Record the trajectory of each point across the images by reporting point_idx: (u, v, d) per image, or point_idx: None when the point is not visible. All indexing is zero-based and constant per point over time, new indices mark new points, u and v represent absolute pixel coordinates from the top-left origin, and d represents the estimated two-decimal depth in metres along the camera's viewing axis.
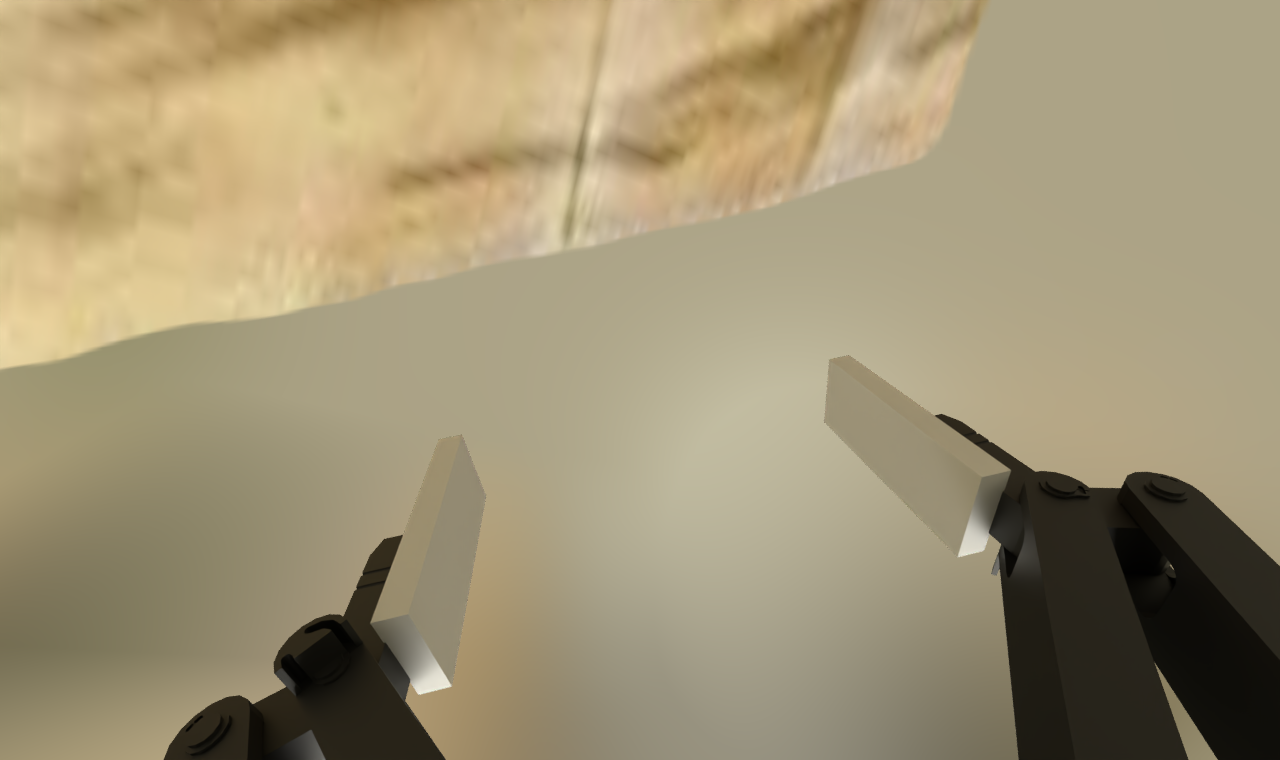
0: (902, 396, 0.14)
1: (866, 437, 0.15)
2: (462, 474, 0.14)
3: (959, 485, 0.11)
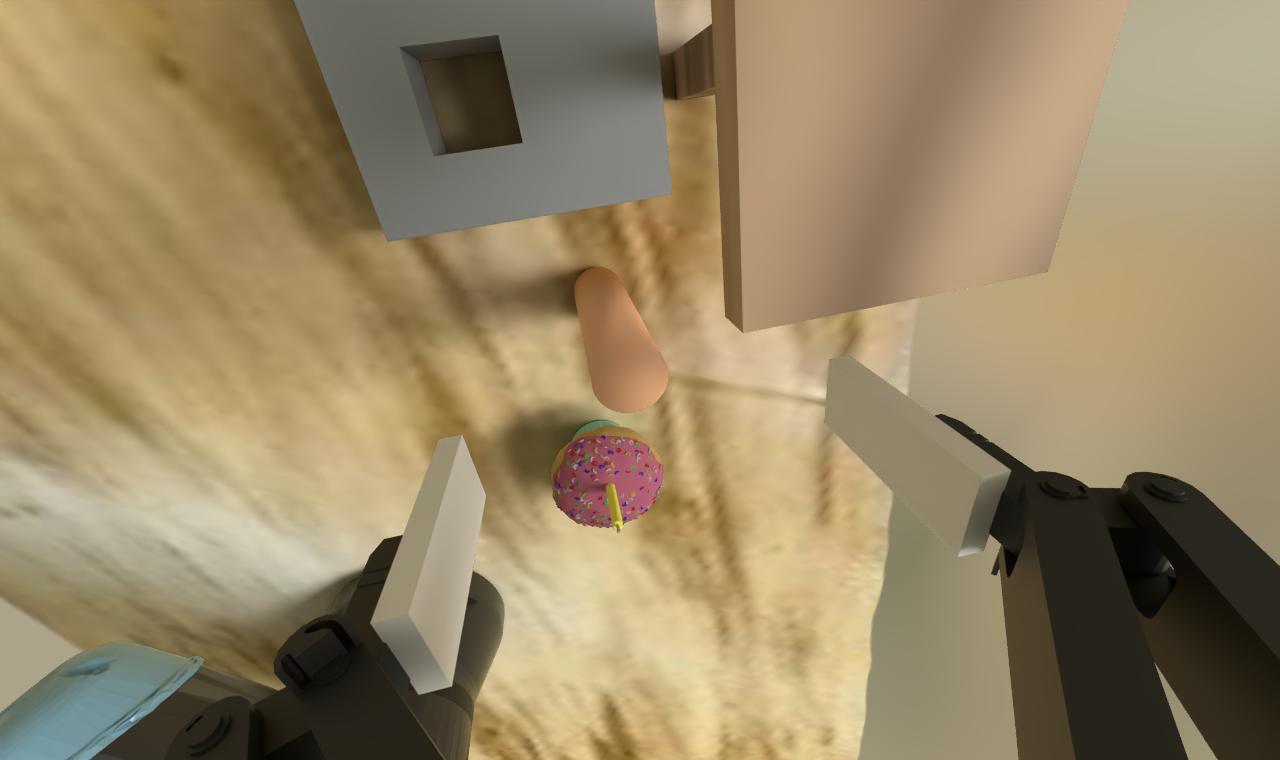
0: (902, 396, 0.14)
1: (866, 437, 0.15)
2: (462, 474, 0.14)
3: (959, 485, 0.11)
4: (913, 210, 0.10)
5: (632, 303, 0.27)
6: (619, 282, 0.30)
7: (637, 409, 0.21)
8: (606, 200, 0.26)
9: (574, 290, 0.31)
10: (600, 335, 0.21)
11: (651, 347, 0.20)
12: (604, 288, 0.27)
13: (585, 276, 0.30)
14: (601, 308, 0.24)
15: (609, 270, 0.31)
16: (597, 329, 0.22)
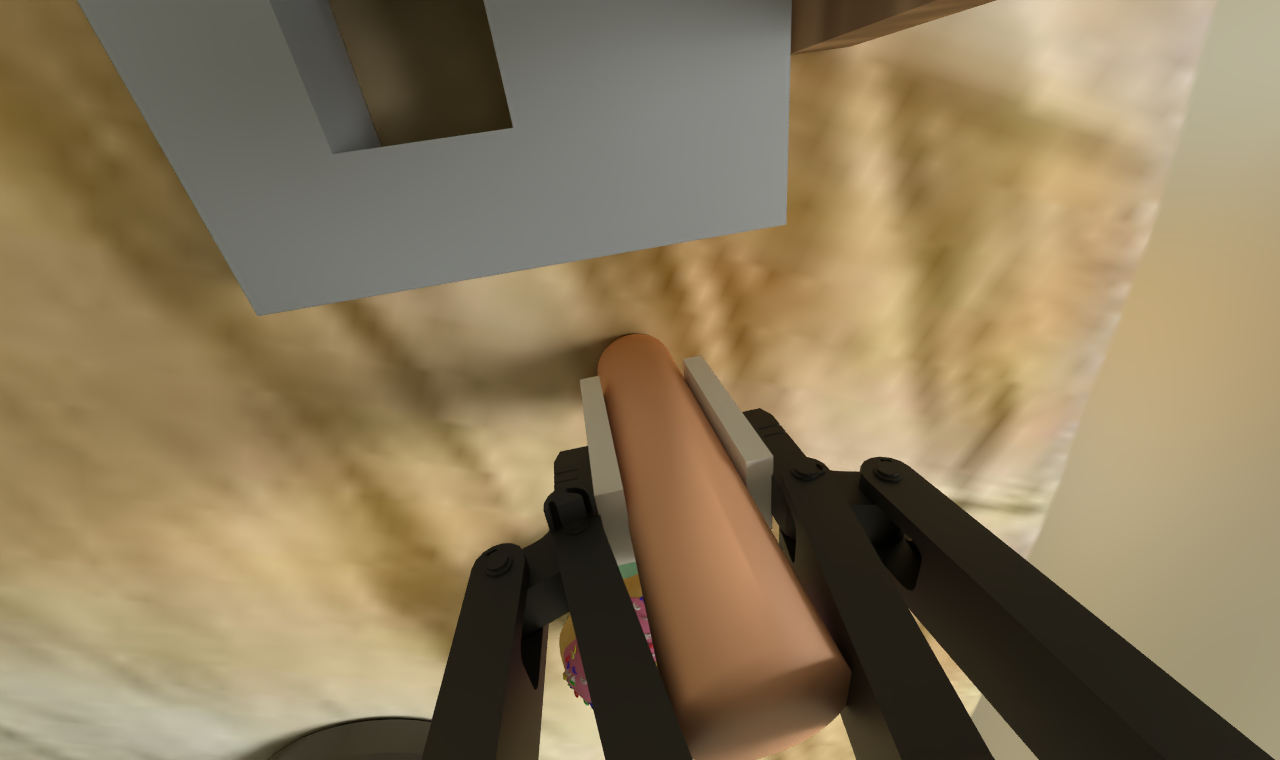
0: (724, 392, 0.15)
1: None
2: None
3: (740, 470, 0.13)
4: None
5: (709, 423, 0.15)
6: (675, 367, 0.18)
7: (769, 753, 0.09)
8: (668, 236, 0.14)
9: (598, 372, 0.19)
10: (680, 573, 0.09)
11: (824, 648, 0.08)
12: (659, 395, 0.15)
13: (618, 354, 0.18)
14: (665, 462, 0.12)
15: (654, 340, 0.19)
16: (668, 539, 0.10)
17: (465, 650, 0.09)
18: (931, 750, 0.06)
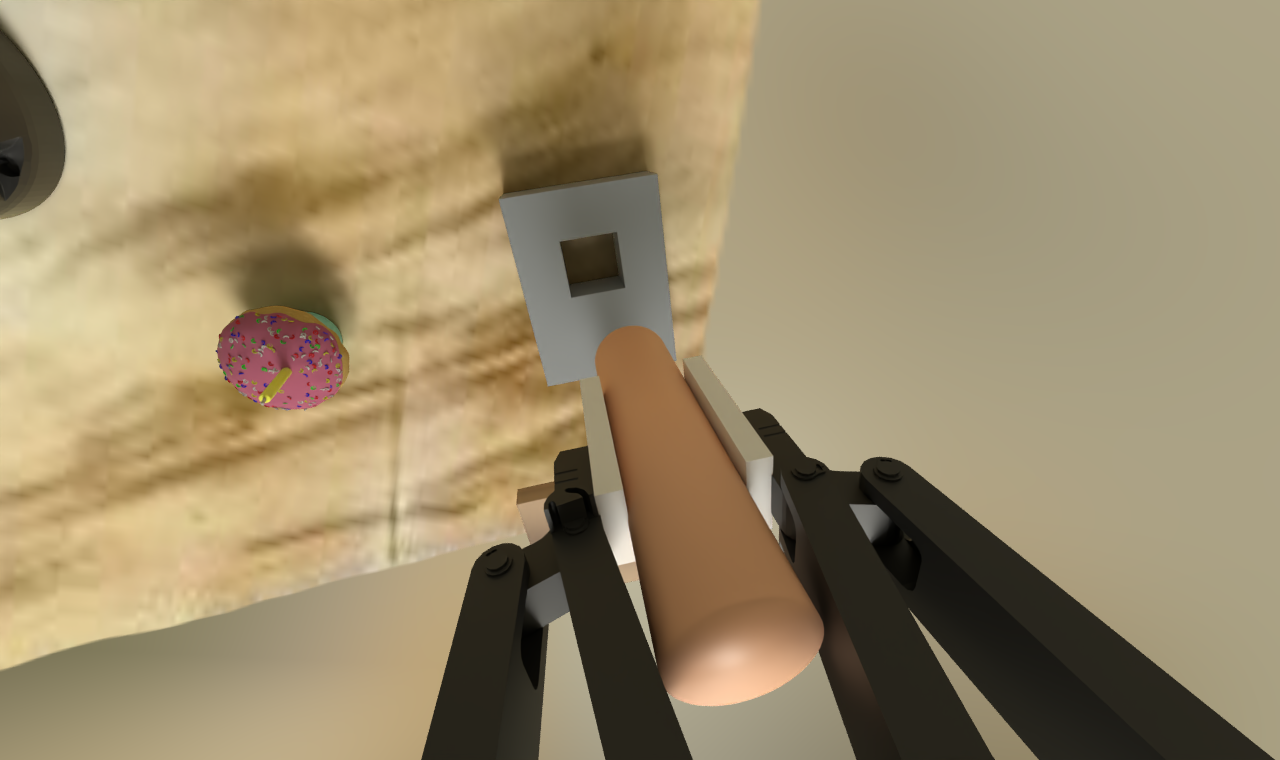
0: (724, 392, 0.15)
1: None
2: None
3: (740, 470, 0.13)
4: None
5: (700, 407, 0.16)
6: (669, 356, 0.19)
7: (749, 697, 0.10)
8: (541, 347, 0.39)
9: (596, 362, 0.20)
10: (668, 535, 0.10)
11: (796, 596, 0.09)
12: (652, 380, 0.16)
13: (614, 344, 0.19)
14: (657, 440, 0.13)
15: (650, 331, 0.20)
16: (658, 506, 0.11)
17: (465, 650, 0.09)
18: (931, 749, 0.06)
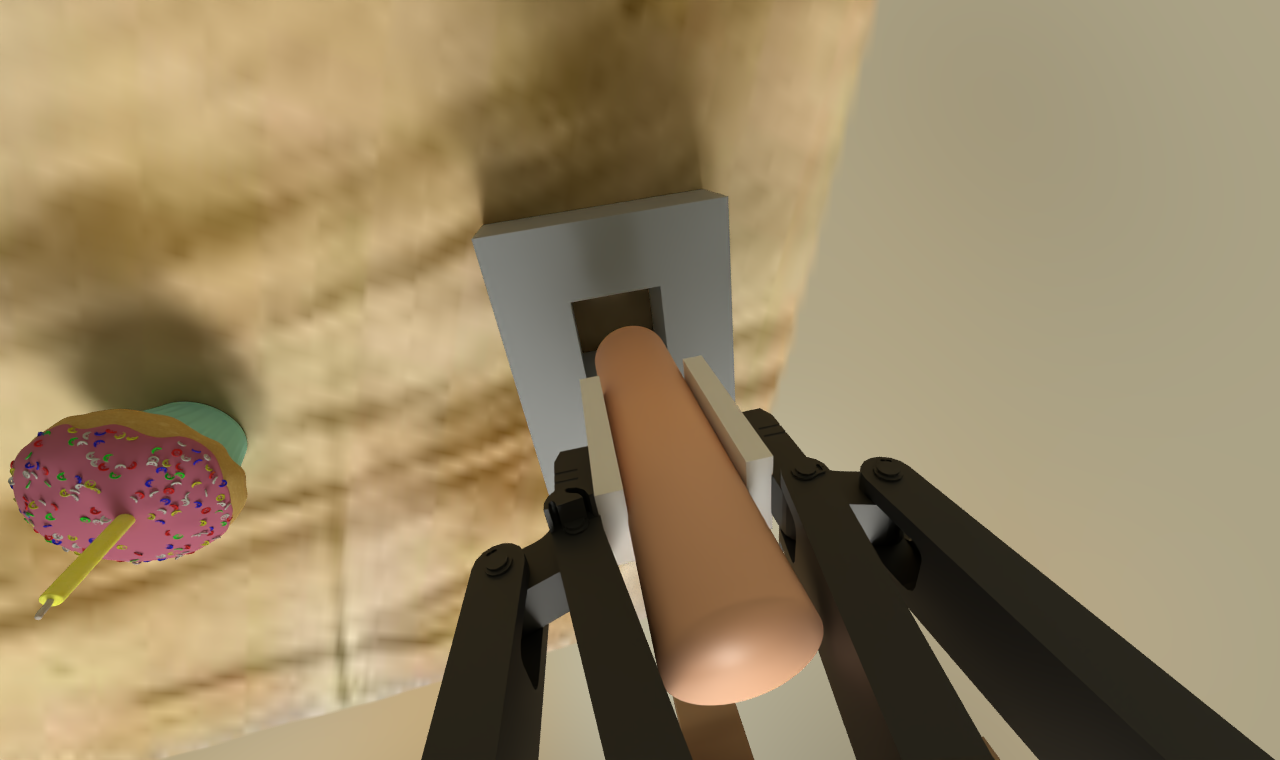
0: (724, 392, 0.15)
1: None
2: None
3: (740, 470, 0.13)
4: None
5: (700, 407, 0.16)
6: (669, 356, 0.19)
7: (748, 696, 0.10)
8: (541, 452, 0.26)
9: (596, 362, 0.20)
10: (668, 534, 0.10)
11: (795, 595, 0.09)
12: (652, 380, 0.16)
13: (614, 345, 0.19)
14: (657, 440, 0.13)
15: (650, 331, 0.20)
16: (658, 506, 0.11)
17: (465, 650, 0.09)
18: (930, 749, 0.06)
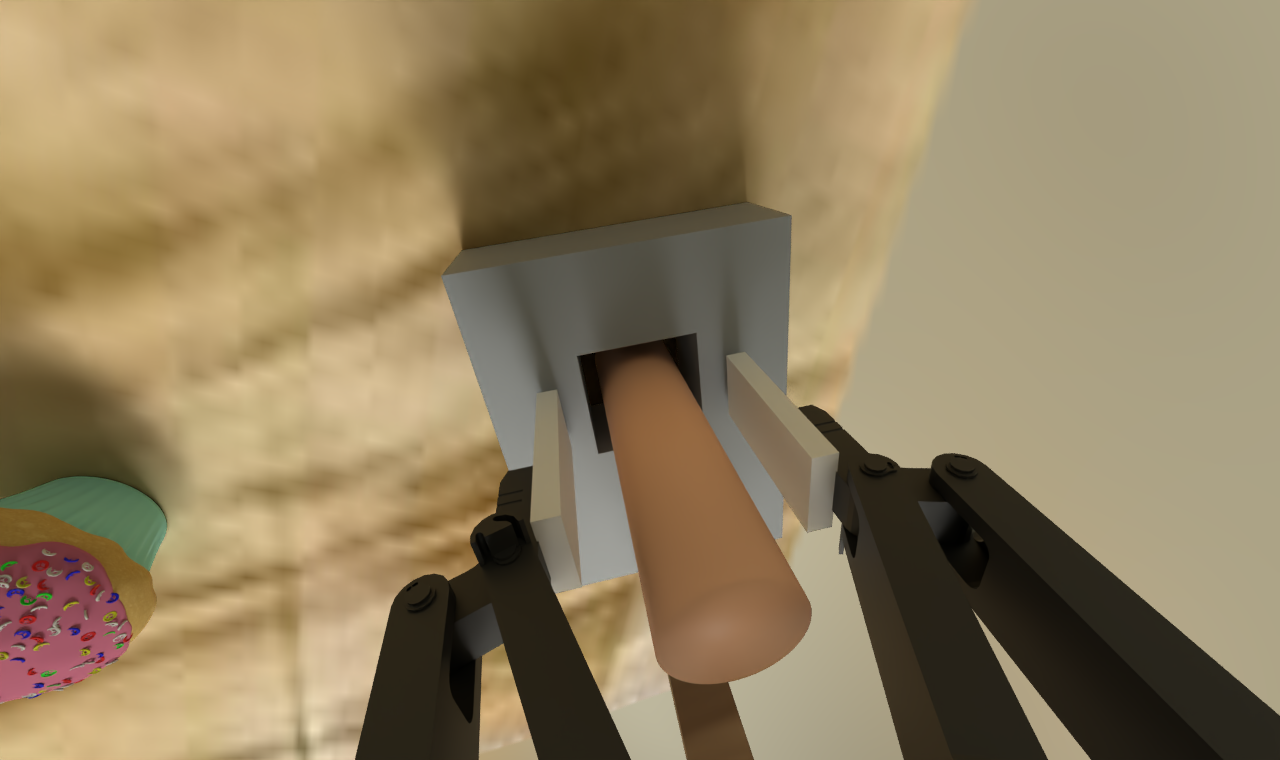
0: (775, 388, 0.15)
1: (751, 426, 0.16)
2: (561, 422, 0.16)
3: (802, 467, 0.12)
4: None
5: (697, 403, 0.16)
6: (667, 353, 0.19)
7: (740, 676, 0.10)
8: None
9: (596, 359, 0.21)
10: (664, 522, 0.11)
11: (784, 578, 0.09)
12: (650, 376, 0.16)
13: None
14: (655, 433, 0.13)
15: None
16: (655, 496, 0.11)
17: (387, 694, 0.08)
18: (982, 749, 0.06)
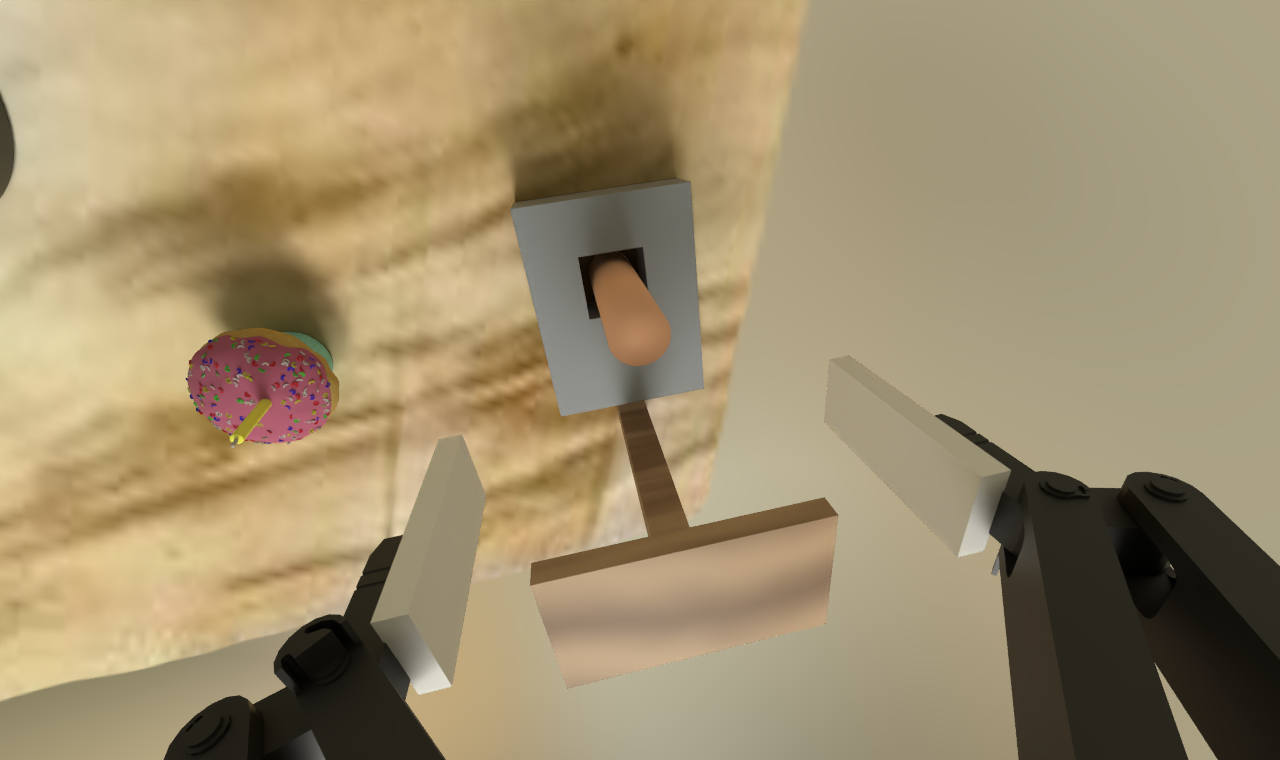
0: (902, 396, 0.14)
1: (866, 437, 0.15)
2: (462, 474, 0.14)
3: (959, 485, 0.11)
4: (594, 630, 0.21)
5: None
6: (629, 263, 0.34)
7: (644, 363, 0.25)
8: (554, 374, 0.35)
9: (589, 270, 0.35)
10: (614, 301, 0.25)
11: (657, 309, 0.24)
12: (617, 266, 0.31)
13: (599, 258, 0.34)
14: (615, 281, 0.28)
15: (620, 253, 0.35)
16: (612, 297, 0.26)
17: None
18: None
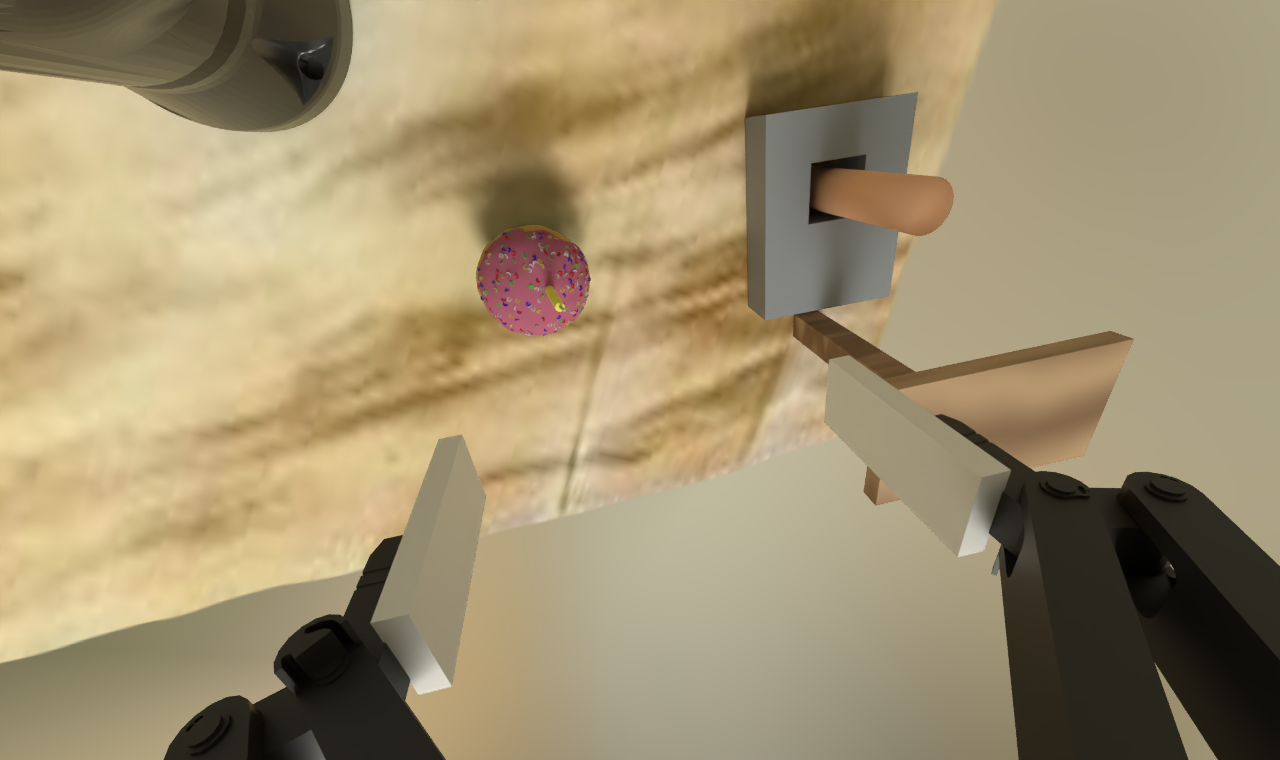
0: (902, 396, 0.14)
1: (866, 437, 0.15)
2: (462, 474, 0.14)
3: (959, 485, 0.11)
4: None
5: None
6: None
7: (924, 233, 0.28)
8: (768, 278, 0.39)
9: None
10: (894, 181, 0.29)
11: (946, 181, 0.27)
12: (850, 169, 0.34)
13: (813, 170, 0.38)
14: (870, 173, 0.32)
15: None
16: (885, 180, 0.30)
17: None
18: None
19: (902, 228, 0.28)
